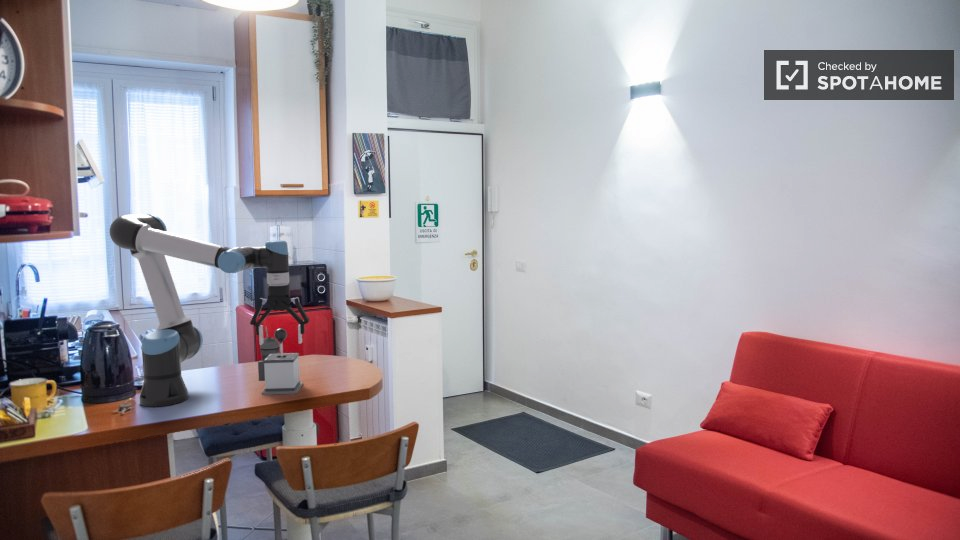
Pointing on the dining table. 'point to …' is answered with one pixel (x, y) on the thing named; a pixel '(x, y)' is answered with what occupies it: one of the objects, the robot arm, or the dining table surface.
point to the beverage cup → (269, 346)
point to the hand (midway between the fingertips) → (281, 343)
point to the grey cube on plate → (280, 374)
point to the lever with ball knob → (280, 338)
